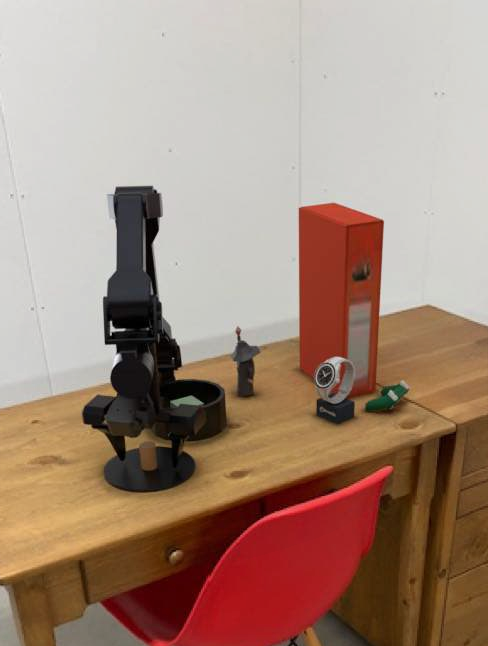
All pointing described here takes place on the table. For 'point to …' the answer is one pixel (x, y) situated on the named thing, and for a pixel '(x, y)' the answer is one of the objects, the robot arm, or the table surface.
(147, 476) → the lid
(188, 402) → the block
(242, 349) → the wizard figurine
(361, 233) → the file binder
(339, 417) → the watch
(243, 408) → the table surface
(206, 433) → the pot
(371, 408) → the green toy shoe
